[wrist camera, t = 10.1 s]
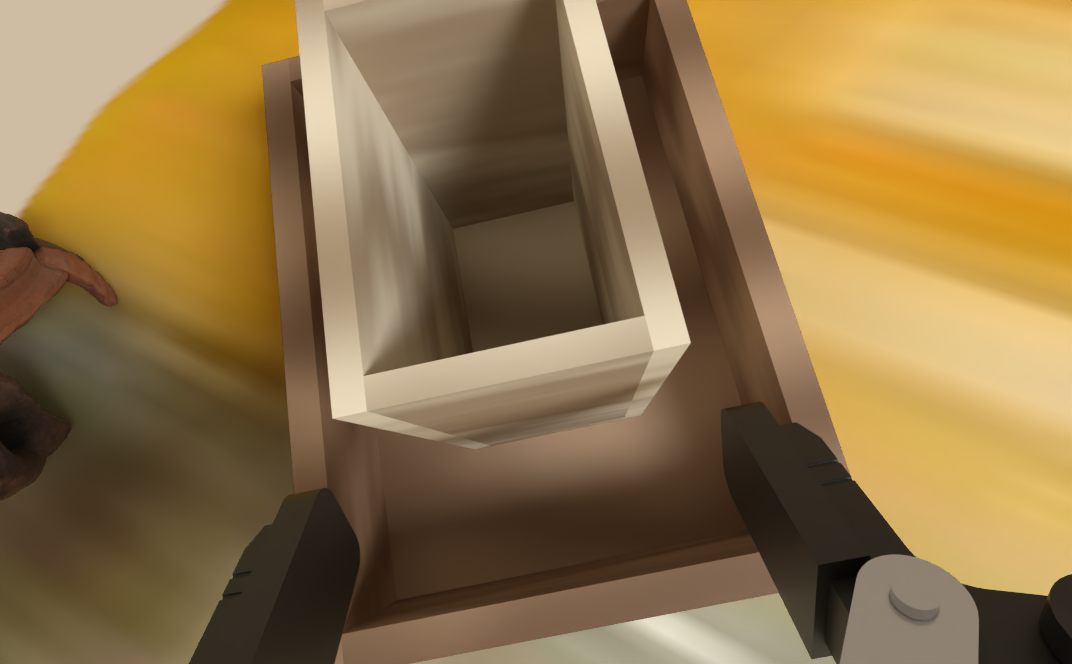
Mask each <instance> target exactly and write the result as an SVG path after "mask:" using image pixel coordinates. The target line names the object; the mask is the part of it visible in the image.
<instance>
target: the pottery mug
mask: <svg viewBox="0 0 1072 664" xmlns="http://www.w3.org/2000/svg"><path fill="white" fill-rule="evenodd" d="M0 250H4V251H3V252H2V253H1V254H0V345H1V344H2V342H3V341H5V340H6V339H7V338H8V337H9V336H10V335H11V334H12V333H14V332H15V331H16V330H17V329H19V328H21V327H22V326H24V325H25V324H26V323H27V322H28V321H29V320H30V319H31V318H32V317H33V316H34V314H35V313H36V311H37V310H38V309H39V308H40V307H41V306H42V305H43V304H44V303H45V302H47V301H48V300H49V299H51V298H52V297H53V296H55V295H56V294H57V292H58V291H59V290H60V289H61V288H62V287H63V285H64V284H65V282H66V281H68V282H70V283H73V284H76V285H78V286H80V287H82V288H84V289H85V290H86V291H88V292H89V293H90V294H92V295H93V296H94V297H96V298H97V300H98V301H99V302H100V303H102V304H103V305H105V306H114V305H116V304H117V300H116V296H115V293H114V291H113V289H112V287H111V286H110V285H109V284H107V283H106V282H105V280H104V279H103V277H102V276H101V275H100V274H99V273H98V272H96V271H94V270H92V268H91V267H90V266H89V264H87V263H86V262H84V259H83V258H81V257H80V256H78V255H76V254H74V253H72V252H69V251H66V250H64V249H63V248H61V247H59V246H57V245H54V244H52V243H49V242H46V241H44V240H40V239H37V238H34V237H33V235H32V234H31V232H30V230H29V228H28V225H27V224H26V223H25V222H24V221H23V220H21V219H19V218H17V217H15V216H12V215H10V214H4V213H2V212H0ZM70 430H71V426H70V424H68V423H66V422H64V421H61V420H60V419H58V418H56V417H55V416H54V415H52V414H50V413H48V412H46V411H45V410H43V409H42V408H40V407H38V403H37V402H36V401H35V400H34V398H32V397H31V396H30V395H28V394H26V393H25V392H24V390H23V387H22V386H21V385H20V384H19V383H18V382H17V381H16V380H15V379H13V378H11V377H10V376H7V375H5V374H1V373H0V501H1V500H4V499H6V498H8V497H10V496H12V495H14V494H16V493H17V492H18V491H19V490H21V489H23V488H24V487H26V486H28V485H30V484H31V483H33V482H34V481H35V480H36V479H37V477H38V476H39V475H40V473H41V471H42V469H43V467H44V465H45V462H46V458H47V456H49V455H50V454H52V453H53V452H54V451H55V450H56V449H57V448H58V447H59V446H60V445H61V443H62V442H63V441H64V440H65V439H66V437H67V435H68V433H69V432H70Z"/></svg>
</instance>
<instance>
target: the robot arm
mask: <svg viewBox="0 0 1072 664" xmlns="http://www.w3.org/2000/svg"><path fill="white" fill-rule="evenodd" d="M721 433H722V452H723V467H724V473H725V478H726V482H727V485H728V488H729V491H730V494H731V496H732V498H733V500H734V502H735V505H736V507H737V509H738V511H739V513H740V515H741V517H742V519H743V521H744V523H745V525H746V527H747V529H748V531H749V533H750V535H751V537H752V539H753V541H754V543H755V545H756V547H757V549H758V551H759V553H760V555H761V557H762V559H763V561H764V563H765V565H766V567H767V570H768V572H769V574H770V576H771V578H772V580H773V582H774V584H775V586H776V588H777V590H778V592H779V594H780V596H781V598H782V600H783V602H784V604H785V606H786V608H787V610H788V612H789V614H790V616H791V618H792V620H793V622H794V624H795V626H796V628H797V630H798V632H799V634H800V637H801V639H802V641H803V643H804V645H805V647H806V649H807V651H808V653H809V655H810V657H811V659H815V658H821V657H826V656H833V658H834V660H835V662H836V664H1072V574H1071V575H1067V576H1065V577H1063V578H1060V579H1059V580H1058V581H1057V582H1055V583H1054V585H1053V586H1052V588H1051V590H1050V593H1049V595H1048V596H1043V595H1034V594H1025V593H1016V592H1006V591H997V590H988V589H982V588H976V587H972V586H968V585H965V584H962V583H960V582H959V581H958V580H957V579H956V578H955V577H953V576H952V575H951V574H950V573H948V572H947V571H945V570H943V569H942V568H940V567H939V566H937V565H934V564H932V563H930V562H928V561H925V560H922V559H920V558H916V557H915V556H914V555H913V554H912V553H911V552H910V551H909V549H908V548H907V547H906V546H905V545H904V543H903V542H902V541H901V539H900V538H899V537H898V536H897V534H896V533H895V532H894V530H893V529H892V528H891V527H890V525H889V524H888V523H887V521H886V520H885V519H884V518H883V516H882V515H881V514H880V512H879V511H878V510H877V509H876V507H875V506H874V505H873V504H872V502H871V501H870V500H869V498H868V497H867V496H866V495H865V493H864V492H863V491H862V489H861V488H860V487H859V486H858V484H857V483H856V482H855V481H853V480H852V479H851V475H850V474H849V473H848V471H847V470H846V469H845V468H844V466H843V465H842V464H841V463H839V462H838V460H837V457H836V456H835V455H834V454H833V452H832V451H831V450H830V448H829V447H828V446H827V445H826V443H825V442H824V441H823V439H822V438H821V437H819V436H818V435H816V434H814V433H813V432H811V431H810V430H808V429H807V428H805V427H803V426H802V425H800V424H799V423H797V422H794V423H789V424H784V425H779V424H778V423H777V421H776V420H775V418H774V417H773V416H772V414H771V413H770V411H769V410H768V408H767V407H766V406H765V404H763V403H762V402H754V403H749V404H745V405H740V406H735V407H730V408H725V409H722V410H721ZM359 567H360V547H359V542H358V539H357V536H356V534H355V532H354V531H353V529H352V527H351V525H350V523H349V521H348V520H347V518H346V516H345V514H344V512H343V510H342V509H341V507H340V505H339V503H338V501H337V499H336V498H335V496H334V494H333V492H332V491H331V490H330V489H328V488H320V489H315V490H310V491H305V492H300V493H295V494H291V495H288V496H287V497H286V498H285V499H284V501H283V503H282V505H281V507H280V510H279V512H278V514H277V516H276V518H275V521H274V523H273V525H268V526H265V527H264V528H263V529H262V530H261V531H260V532H259V534H258V535H257V536H256V537H255V538H254V539H253V541H252V542H251V543H250V544H249V545H248V546H247V547H246V549H245V550H244V552H243V554H242V556H241V558H240V560H239V562H238V564H237V566H236V568H235V570H234V572H233V579H230V581H229V583H228V585H227V587H226V589H225V591H224V593H223V600H220V601H219V603H218V605H217V607H216V609H215V611H214V613H213V615H212V618H211V620H210V622H209V624H208V626H207V628H206V630H205V632H204V634H203V636H202V638H201V640H200V642H199V644H198V646H197V648H196V650H195V652H194V654H193V656H192V658H191V661H190V663H189V664H335V660H336V656H337V652H338V648H339V644H340V641H341V637H342V633H343V629H344V625H345V621H346V617H347V614H348V610H349V606H350V602H351V598H352V594H353V591H354V587H355V583H356V579H357V575H358V571H359Z"/></svg>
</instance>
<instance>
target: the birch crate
mask: <svg viewBox="0 0 1072 664" xmlns="http://www.w3.org/2000/svg"><path fill="white" fill-rule="evenodd" d="M295 8H296V19H297V30H298V41H299V52H300V63H301V74H302V86H303V97H304V108H305V119H306V130H307V141H308V153H309V164H310V175H311V186H312V197H313V208H314V219H315V231H316V242H317V253H318V264H319V275H320V286H321V297H322V309H323V320H324V331H325V342H326V353H327V364H328V376H329V387H330V398H331V409H332V419H337V420H341V421H346V422H351V423H355V424H360V425H365V426H369V427H374V428H378V429H383V430H388V431H392V432H397V433H402V434H406V435H411V436H416V437H420V438H425V439H430V440H434V441H439V442H444V443H448V444H453V445H458V446H462V447H467V448H471V449H480V448H485V447H490V446H494V445H499V444H504V443H509V442H514V441H519V440H524V439H529V438H533V437H538V436H543V435H548V434H553V433H558V432H563V431H568V430H573V429H577V428H582V427H587V426H592V425H597V424H602V423H607V422H612V421H617V420H621V419H626V418H631V417H636V416H641V414H642V413H643V411H644V410H645V409H646V407H647V406H648V404H649V403H650V401H651V400H652V398H653V397H654V395H655V394H656V393H657V391H658V390H659V388H660V387H661V385H662V384H663V382H664V381H665V380H666V378H667V377H668V375H669V374H670V372H671V371H672V369H673V368H674V367H675V365H676V364H677V362H678V361H679V359H680V358H681V356H682V355H683V353H684V352H685V351H686V349H687V348H688V346H689V345H690V343H691V342H690V338H689V334H688V331H687V327H686V324H685V320H684V316H683V313H682V309H681V306H680V302H679V298H678V295H677V291H676V288H675V284H674V281H673V277H672V273H671V270H670V266H669V263H668V259H667V255H666V252H665V248H664V245H663V241H662V237H661V234H660V230H659V227H658V223H657V219H656V216H655V212H654V209H653V205H652V201H651V198H650V194H649V191H648V187H647V183H646V180H645V176H644V173H643V169H642V165H641V162H640V158H639V155H638V151H637V147H636V144H635V140H634V137H633V133H632V129H631V126H630V122H629V119H628V115H627V111H626V108H625V104H624V101H623V97H622V93H621V90H620V86H619V83H618V79H617V75H616V72H615V68H614V65H613V61H612V57H611V54H610V50H609V47H608V43H607V39H606V36H605V32H604V29H603V25H602V21H601V18H600V14H599V11H598V7H597V3H596V0H295Z"/></svg>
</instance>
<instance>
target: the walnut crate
mask: <svg viewBox="0 0 1072 664" xmlns="http://www.w3.org/2000/svg"><path fill="white" fill-rule="evenodd" d="M596 3H597V7H598V11H599V14H600V18H601V21H602V25H603V29H604V32H605V36H606V39H607V43H608V47H609V50H610V54H611V57H612V61H613V65H614V68H615V72H616V75H617V79H618V83H619V86H620V90H621V93H622V97H623V101H624V104H625V108H626V111H627V115H628V119H629V122H630V126H631V129H632V133H633V137H634V140H635V144H636V147H637V151H638V155H639V158H640V162H641V165H642V169H643V173H644V176H645V180H646V183H647V187H648V191H649V194H650V198H651V201H652V205H653V209H654V212H655V216H656V219H657V223H658V227H659V230H660V234H661V237H662V241H663V245H664V248H665V252H666V255H667V259H668V263H669V266H670V270H671V273H672V277H673V281H674V284H675V288H676V291H677V295H678V298H679V302H680V306H681V309H682V313H683V316H684V320H685V324H686V327H687V331H688V334H689V338H690V342H691V343H690V345H689V346H688V348H687V349H686V351H685V352H684V353H683V355H682V356H681V358H680V359H679V361H678V362H677V364H676V365H675V367H674V368H673V369H672V371H671V372H670V374H669V375H668V377H667V378H666V380H665V381H664V382H663V384H662V385H661V387H660V388H659V390H658V391H657V393H656V394H655V395H654V397H653V398H652V400H651V401H650V403H649V404H648V406H647V407H646V409H645V410H644V411H643V413H642V414H641V416H636V417H631V418H626V419H621V420H617V421H612V422H607V423H602V424H597V425H592V426H587V427H582V428H577V429H573V430H568V431H563V432H558V433H553V434H548V435H543V436H538V437H533V438H529V439H524V440H519V441H514V442H509V443H504V444H499V445H494V446H490V447H485V448H480V449H471V448H467V447H462V446H458V445H453V444H448V443H444V442H439V441H434V440H430V439H425V438H420V437H416V436H411V435H406V434H402V433H397V432H392V431H388V430H383V429H378V428H374V427H369V426H365V425H360V424H355V423H351V422H346V421H341V420H337V419H332V409H331V398H330V387H329V376H328V364H327V353H326V342H325V331H324V320H323V309H322V297H321V286H320V275H319V264H318V253H317V242H316V231H315V219H314V208H313V197H312V186H311V175H310V164H309V153H308V141H307V130H306V119H305V108H304V97H303V86H302V74H301V63H300V56H296V57H293V58H289V59H285V60H281V61H277V62H273V63H269V64H265V65H262V74H263V87H264V100H265V114H266V127H267V140H268V153H269V167H270V180H271V193H272V207H273V220H274V233H275V246H276V260H277V273H278V286H279V299H280V313H281V326H282V339H283V353H284V366H285V379H286V392H287V406H288V419H289V432H290V445H291V459H292V472H293V485H294V494H295V493H300V492H305V491H310V490H315V489H320V488H328V489H330V490H331V491H332V492H333V494H334V496H335V498H336V499H337V501H338V503H339V505H340V507H341V509H342V510H343V512H344V514H345V516H346V518H347V520H348V521H349V523H350V525H351V527H352V529H353V531H354V532H355V534H356V536H357V539H358V542H359V547H360V567H359V571H358V575H357V579H356V583H355V587H354V591H353V594H352V598H351V602H350V606H349V610H348V614H347V617H346V621H345V625H344V629H343V633H342V637H341V641H340V644H339V648H338V652H337V656H336V660H335V664H410V663H415V662H421V661H426V660H431V659H436V658H441V657H447V656H452V655H457V654H462V653H467V652H473V651H478V650H483V649H488V648H493V647H499V646H504V645H509V644H514V643H519V642H525V641H530V640H535V639H540V638H545V637H551V636H556V635H561V634H566V633H571V632H577V631H582V630H587V629H592V628H597V627H603V626H608V625H613V624H618V623H623V622H629V621H634V620H639V619H644V618H650V617H655V616H660V615H665V614H670V613H676V612H681V611H686V610H691V609H696V608H702V607H707V606H712V605H717V604H722V603H728V602H733V601H738V600H743V599H748V598H754V597H759V596H764V595H769V594H774V593H779V592H778V590H777V588H776V586H775V584H774V582H773V580H772V578H771V576H770V574H769V572H768V570H767V567H766V565H765V563H764V561H763V559H762V557H761V555H760V553H759V551H758V549H757V547H756V545H755V543H754V541H753V539H752V537H751V535H750V533H749V531H748V529H747V527H746V525H745V523H744V521H743V519H742V517H741V515H740V513H739V511H738V509H737V507H736V505H735V502H734V500H733V498H732V496H731V494H730V491H729V488H728V485H727V482H726V478H725V473H724V467H723V452H722V433H721V410H722V409H725V408H730V407H735V406H740V405H745V404H749V403H754V402H762V403H763V404H765V406H766V407H767V408H768V410H769V411H770V413H771V414H772V416H773V417H774V418H775V420H776V421H777V423H778V424H779V425H784V424H789V423H794V422H797V423H799V424H800V425H802V426H803V427H805V428H807V429H808V430H810V431H811V432H813V433H814V434H816V435H818V436H819V437H821V438H822V439H823V441H824V442H825V443H826V445H827V446H828V447H829V448H830V450H831V451H832V452H833V454H834V455H835V456H836V457H837V460H838V462H839V463H841V464H842V465H843V466H844V468H845V469H846V470H847V471H848V473H849V470H848V467H847V464H846V461H845V458H844V455H843V453H842V450H841V447H840V444H839V441H838V438H837V435H836V432H835V429H834V426H833V424H832V421H831V418H830V415H829V412H828V409H827V406H826V403H825V400H824V398H823V395H822V392H821V389H820V386H819V383H818V380H817V377H816V374H815V371H814V369H813V366H812V363H811V360H810V357H809V354H808V351H807V348H806V345H805V342H804V340H803V337H802V334H801V331H800V328H799V325H798V322H797V319H796V316H795V314H794V311H793V308H792V305H791V302H790V299H789V296H788V293H787V290H786V287H785V285H784V282H783V279H782V276H781V273H780V270H779V267H778V264H777V261H776V258H775V256H774V253H773V250H772V247H771V244H770V241H769V238H768V235H767V232H766V230H765V227H764V224H763V221H762V218H761V215H760V212H759V209H758V206H757V203H756V201H755V198H754V195H753V192H752V189H751V186H750V183H749V180H748V177H747V174H746V172H745V169H744V166H743V163H742V160H741V157H740V154H739V151H738V148H737V146H736V143H735V140H734V137H733V134H732V131H731V128H730V125H729V122H728V119H727V117H726V114H725V111H724V108H723V105H722V102H721V99H720V96H719V93H718V90H717V88H716V85H715V82H714V79H713V76H712V73H711V70H710V67H709V64H708V62H707V59H706V56H705V53H704V50H703V47H702V44H701V41H700V38H699V35H698V33H697V30H696V27H695V24H694V21H693V18H692V15H691V12H690V9H689V6H688V4H687V1H686V0H596ZM849 474H850V473H849Z"/></svg>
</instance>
